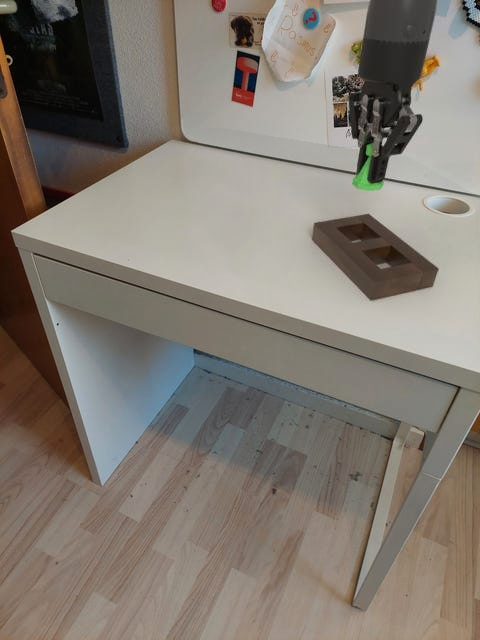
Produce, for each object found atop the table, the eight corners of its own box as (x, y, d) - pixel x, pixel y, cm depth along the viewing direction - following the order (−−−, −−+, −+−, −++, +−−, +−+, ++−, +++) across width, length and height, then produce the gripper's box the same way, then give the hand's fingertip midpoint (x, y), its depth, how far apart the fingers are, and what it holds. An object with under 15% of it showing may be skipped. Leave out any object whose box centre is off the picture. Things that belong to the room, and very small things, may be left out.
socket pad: (365, 229, 76) (368, 213, 74) (432, 286, 63) (439, 268, 61) (311, 239, 73) (313, 222, 71) (371, 300, 61) (375, 282, 59)
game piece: (366, 176, 67) (373, 134, 63) (389, 186, 64) (399, 142, 60) (345, 183, 65) (352, 140, 61) (369, 193, 62) (377, 149, 58)
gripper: (464, 41, 49) (422, 194, 60) (389, 25, 59) (365, 158, 70) (405, 44, 47) (373, 202, 58) (338, 27, 57) (322, 164, 68)
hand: (369, 177), depth 64 cm, fingers closed on game piece, 2 cm apart
